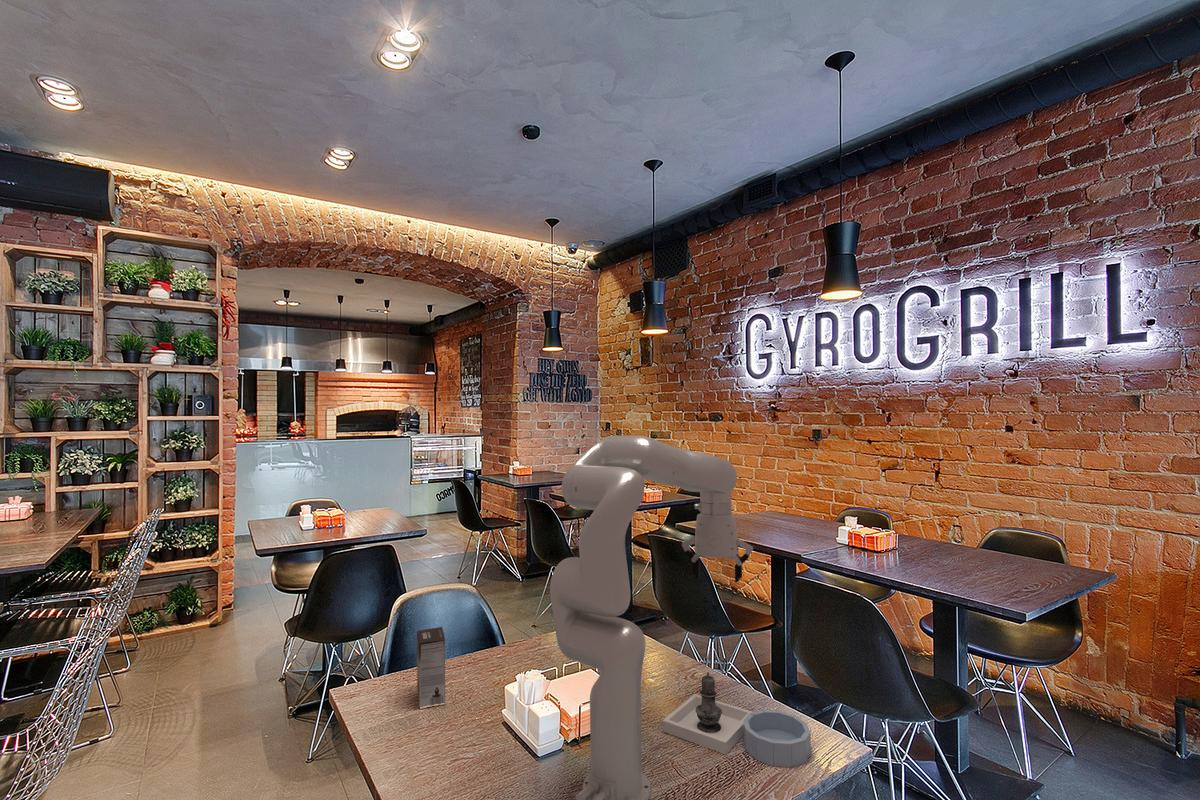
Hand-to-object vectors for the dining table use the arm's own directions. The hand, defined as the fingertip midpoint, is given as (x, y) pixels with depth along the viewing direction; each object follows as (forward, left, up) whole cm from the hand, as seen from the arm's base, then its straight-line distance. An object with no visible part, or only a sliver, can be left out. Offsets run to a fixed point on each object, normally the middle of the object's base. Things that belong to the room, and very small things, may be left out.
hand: (717, 579), depth 141 cm
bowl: (-12, -18, -29) cm, 37 cm away
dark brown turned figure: (-13, -3, -29) cm, 32 cm away
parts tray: (-13, -3, -29) cm, 32 cm away
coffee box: (-41, +59, -30) cm, 77 cm away
